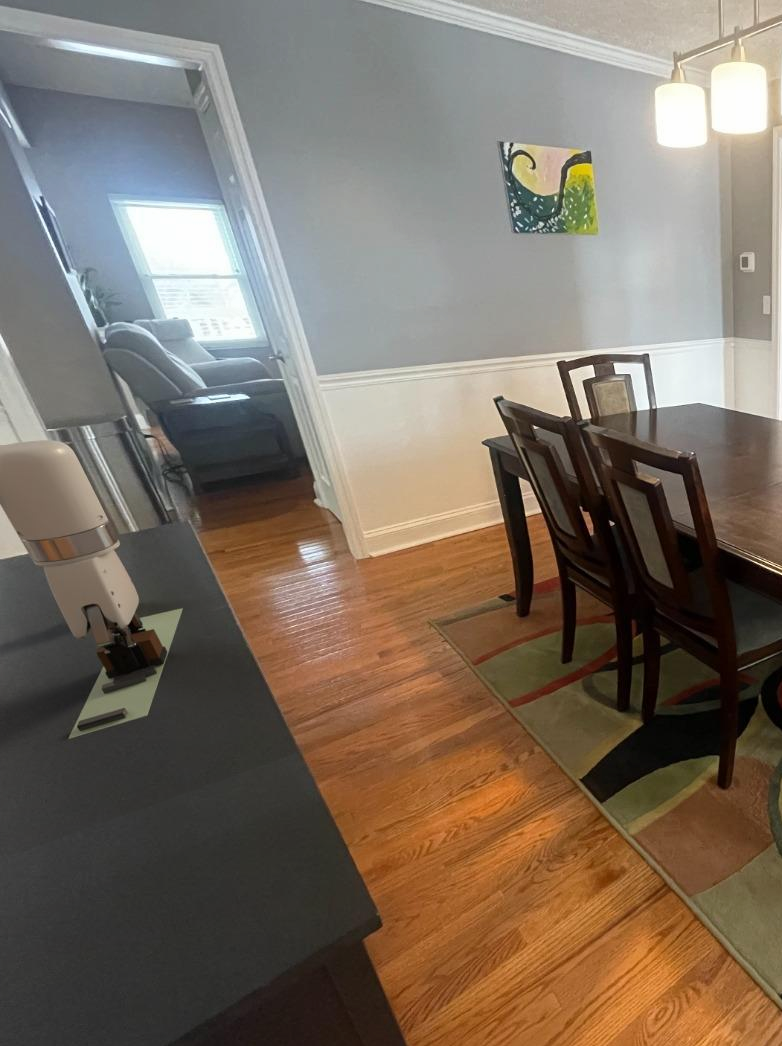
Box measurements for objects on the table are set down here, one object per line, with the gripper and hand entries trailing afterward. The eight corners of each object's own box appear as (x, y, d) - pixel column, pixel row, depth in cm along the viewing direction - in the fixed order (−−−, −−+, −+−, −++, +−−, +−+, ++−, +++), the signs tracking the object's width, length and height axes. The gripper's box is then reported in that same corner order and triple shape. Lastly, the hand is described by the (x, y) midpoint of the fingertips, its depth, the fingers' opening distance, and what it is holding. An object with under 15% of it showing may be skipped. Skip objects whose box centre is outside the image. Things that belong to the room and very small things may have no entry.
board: (71, 745, 69) (67, 738, 68) (128, 626, 92) (125, 621, 92) (150, 721, 72) (147, 715, 72) (185, 613, 96) (182, 607, 96)
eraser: (108, 679, 78) (94, 653, 77) (114, 666, 81) (100, 641, 79) (163, 664, 81) (151, 639, 80) (167, 652, 84) (155, 627, 82)
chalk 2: (79, 731, 69) (76, 726, 69) (82, 725, 70) (78, 720, 70) (126, 717, 71) (123, 712, 71) (128, 712, 72) (125, 707, 72)
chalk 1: (104, 694, 76) (101, 689, 75) (104, 689, 76) (102, 684, 76) (146, 681, 78) (144, 676, 78) (147, 676, 79) (144, 671, 78)
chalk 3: (115, 686, 77) (112, 681, 77) (116, 682, 78) (113, 677, 77) (157, 673, 79) (154, 668, 79) (157, 669, 80) (154, 664, 80)
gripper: (49, 529, 78) (114, 646, 85) (5, 575, 65) (85, 708, 73) (127, 516, 82) (182, 629, 89) (99, 557, 69) (166, 684, 77)
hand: (138, 663), depth 81 cm, fingers closed on eraser, 3 cm apart
